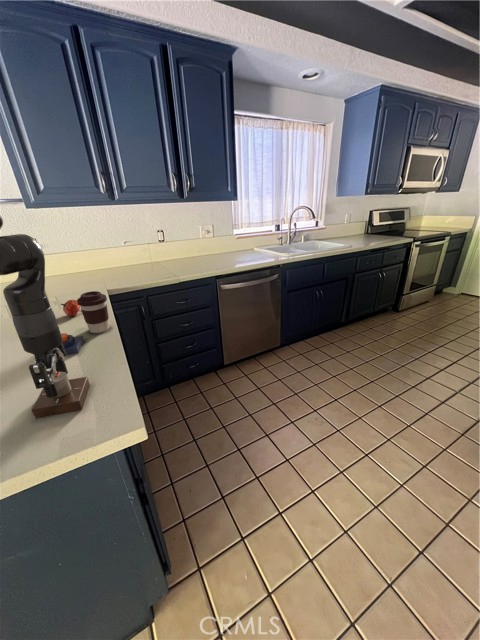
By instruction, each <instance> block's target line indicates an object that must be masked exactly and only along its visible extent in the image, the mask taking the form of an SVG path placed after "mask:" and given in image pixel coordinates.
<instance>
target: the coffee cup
mask: <svg viewBox="0 0 480 640" xmlns="http://www.w3.org/2000/svg"><path fill="white" fill-rule="evenodd" d="M76 300H77V303H78V305H80V312H81V311H82V312H81V313H82V316H83V319H84V322H85V324H86V326H87V328H88V331H89V332H90V333H92V334H100V333H101V334H102V333H104V332H106V331H108V330H110V321H109V318H110V316H109V311H108V305H107V300H108V297H107V295H106V294H104V293H102V292H101V291H98V290H97V291H96V290H92V291H87V292H83V293H82V294H80V297H78V298H77V299H76Z"/></svg>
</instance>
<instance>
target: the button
mask: <svg viewBox="0 0 480 640" xmlns="http://www.w3.org/2000/svg"><path fill="white" fill-rule="evenodd" d="M67 335H68V333H66V332H64V333H61V336H62V339H63V341H66V340H68V336H67ZM63 341H62V342H63Z"/></svg>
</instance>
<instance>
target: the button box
mask: <svg viewBox="0 0 480 640" xmlns="http://www.w3.org/2000/svg"><path fill="white" fill-rule="evenodd" d="M67 336H68V340H66V341H63V345H64V348H65V351H66V353H67V354H66V356H69V355H71V356H72V355H76V354H79V353H80V350H81V348H82V346H83V344H84V342H85V339H84V336H83V335H78V336H73V334H67ZM60 351H61V350H60ZM61 352H62V351H61Z"/></svg>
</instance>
